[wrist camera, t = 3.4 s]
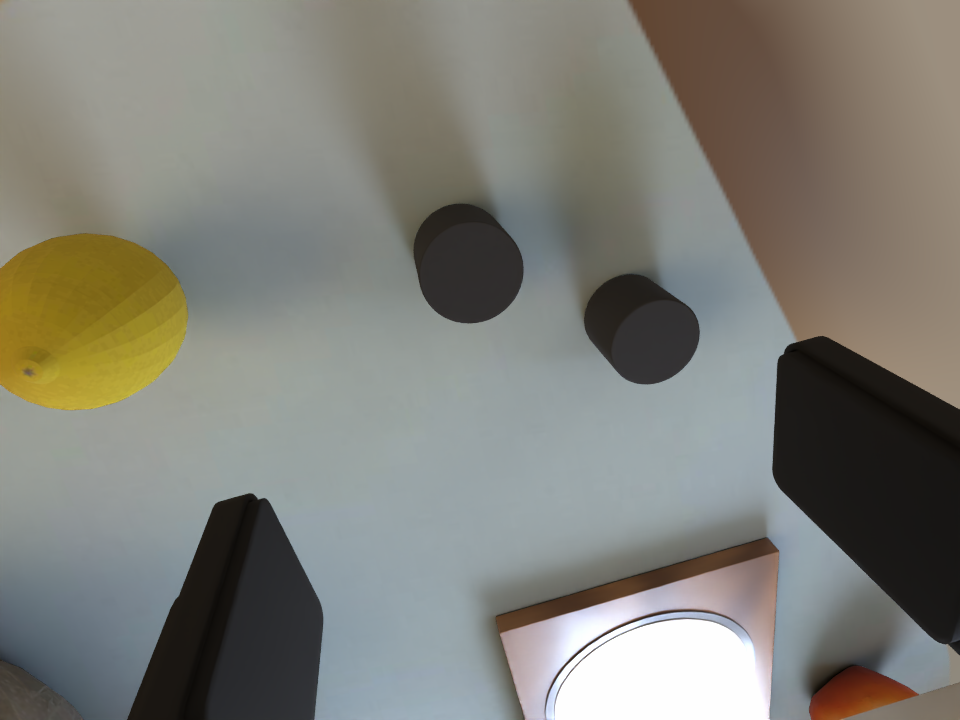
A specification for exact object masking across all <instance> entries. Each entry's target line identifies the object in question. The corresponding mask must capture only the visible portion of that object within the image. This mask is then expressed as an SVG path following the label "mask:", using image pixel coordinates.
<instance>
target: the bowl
mask: <svg viewBox="0 0 960 720" xmlns="http://www.w3.org/2000/svg"><path fill="white" fill-rule="evenodd" d="M0 720H84V719H83V718H82V717H81V716H80V714H79V713H78V712H77V711H76V709H75V708H74V707H73V706H72V705H71V704H70V703H69V702H68V701H66V700H65V699H64V698H63V697H62V696H61V695H59V694H58V693H56V692H55V691H53V690H52V689H50V688H49V687H48V686H46V685H45V684H43V683H42V682H41V681H39V680H38V679H36V678H35V677H33V676H32V675H30V674H29V673H28V672H26V671H25V670H23V669H22V668H19V667H17V666H14V665H12V664H9V663H7V662H4V661H2V660H0Z"/></svg>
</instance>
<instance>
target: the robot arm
mask: <svg viewBox="0 0 960 720" xmlns="http://www.w3.org/2000/svg"><path fill="white" fill-rule="evenodd" d="M772 470H773V476H774V479H775V481H776V483H777V485H778V487H779V488H780V489H781V490H782V491H783V492H784V493H785V494H786V495H787V496H788V497H789V498H790V499H791V500H792V501H793V502H794V503H795V504H796V505H797V506H798V507H799V508H800V509H801V510H802V511H803V512H804V513H805V514H806V515H807V516H808V517H809V518H810V519H811V520H812V521H813V522H814V523H815V524H816V525H817V526H818V527H819V528H820V529H821V530H822V531H823V532H824V533H825V534H826V535H827V536H828V537H829V538H830V539H832V540H833V541H834V542H835V543H836V544H837V545H838V546H839V547H840V548H841V549H842V550H843V551H844V552H845V553H846V554H847V555H848V556H849V557H850V558H851V559H852V560H853V561H854V562H855V563H856V564H857V565H858V566H859V567H860V568H861V569H862V570H863V571H864V572H865V573H866V574H867V575H868V576H869V577H870V578H871V579H872V580H873V581H874V582H875V583H876V584H877V585H878V586H879V587H880V588H881V589H882V590H883V591H884V592H885V593H886V594H887V595H888V596H889V597H891V598H892V599H893V600H894V601H895V602H896V603H897V604H898V605H899V606H900V607H901V608H902V609H903V610H904V611H905V612H906V613H907V614H908V615H909V616H910V617H911V618H912V619H913V620H914V621H915V622H916V623H917V624H918V625H919V626H920V627H921V628H922V629H923V630H924V631H925V632H926V633H927V634H928V635H929V636H931V637H932V638H933V639H934V640H936V641H937V642H939V643H942V644H948V645H949V646H950V647H952V648H953V649H954V650H955V651H956V652H957V653H958V654H959V655H960V409H958V408H956V407H954V406H952V405H950V404H948V403H946V402H945V401H943V400H941V399H939V398H938V397H936V396H934V395H932V394H930V393H929V392H927V391H925V390H923V389H921V388H919V387H918V386H916V385H914V384H912V383H910V382H908V381H907V380H905V379H903V378H901V377H899V376H897V375H895V374H894V373H892V372H890V371H888V370H886V369H885V368H882V367H881V366H879V365H877V364H875V363H873V362H872V361H870V360H868V359H866V358H864V357H863V356H861V355H859V354H857V353H855V352H853V351H852V350H850V349H848V348H846V347H844V346H842V345H840V344H839V343H837V342H835V341H833V340H831V339H829V338H827V337H824V336H818V337H814V338H811V339H807V340H804V341H800V342H796V343H793V344H790V345H789V346H787V348H786V349H785V352H784V354H783V355H781V356H780V357H779V359H778V364H777V384H776V405H775V425H774V446H773V467H772ZM322 632H323V612H322V607H321V604H320V601H319V599H318V597H317V595H316V593H315V591H314V589H313V587H312V585H311V583H310V581H309V579H308V577H307V575H306V573H305V571H304V569H303V567H302V566H301V564H300V562H299V560H298V558H297V556H296V554H295V552H294V550H293V548H292V546H291V544H290V542H289V540H288V538H287V536H286V534H285V532H284V530H283V528H282V526H281V524H280V522H279V520H278V518H277V516H276V514H275V512H274V510H273V508H272V506H271V504H270V503H269V501H268V500H267V499H265V498H263V499H259V500H258V499H257V497H256V496H255V495H254V494H251V493H249V494H245V495H242V496H238V497H234V498H231V499H227V500H224V501H220V502H218V503H216V504H215V505H214V507H213V509H212V512H211V514H210V517H209V519H208V522H207V525H206V527H205V530H204V532H203V535H202V538H201V540H200V543H199V545H198V548H197V551H196V553H195V556H194V558H193V561H192V564H191V566H190V569H189V571H188V574H187V577H186V579H185V582H184V584H183V587H182V590H181V592H180V595H179V597H178V598H177V599H176V600H175V601H174V603H173V605H172V607H171V609H170V611H169V614H168V616H167V619H166V622H165V624H164V627H163V629H162V632H161V634H160V637H159V639H158V642H157V644H156V647H155V650H154V652H153V655H152V657H151V660H150V662H149V665H148V667H147V670H146V673H145V675H144V678H143V680H142V683H141V685H140V688H139V690H138V693H137V696H136V698H135V701H134V703H133V706H132V708H131V711H130V713H129V716H128V719H127V720H314V716H315V705H316V695H317V684H318V674H319V663H320V653H321V642H322ZM841 720H960V682H959V683H956V684H953V685H949V686H946V687H943V688H940V689H937V690H933V691H930V692H927V693H924V694H921V695H918V696H914V697H911V698H908V699H905V700H902V701H898V702H895V703H892V704H889V705H886V706H882V707H879V708H876V709H873V710H870V711H867V712H863V713H860V714H857V715H854V716H851V717H847V718H844V719H841Z"/></svg>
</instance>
